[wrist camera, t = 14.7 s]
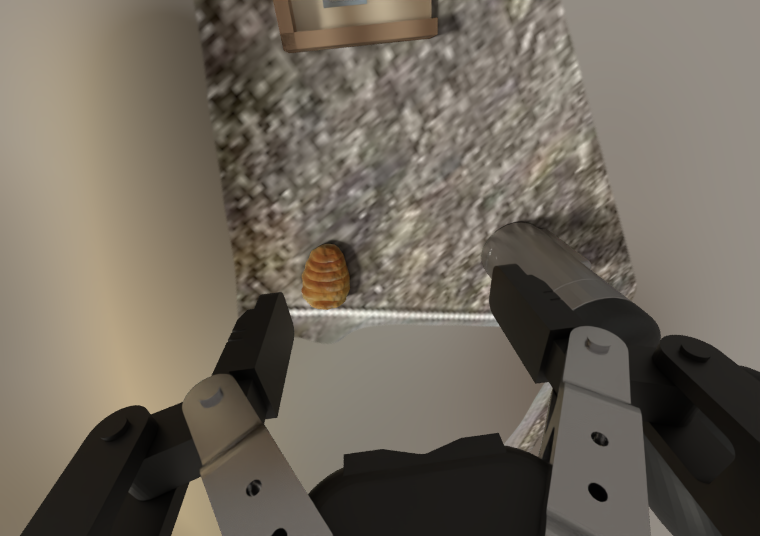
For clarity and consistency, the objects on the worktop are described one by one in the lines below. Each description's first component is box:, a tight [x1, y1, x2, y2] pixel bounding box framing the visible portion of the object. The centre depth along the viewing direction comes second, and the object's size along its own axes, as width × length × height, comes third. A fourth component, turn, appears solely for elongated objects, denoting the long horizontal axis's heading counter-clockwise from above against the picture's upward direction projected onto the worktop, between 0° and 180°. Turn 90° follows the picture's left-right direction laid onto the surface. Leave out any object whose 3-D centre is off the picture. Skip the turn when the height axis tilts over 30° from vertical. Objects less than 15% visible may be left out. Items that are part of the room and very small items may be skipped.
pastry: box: [302, 244, 350, 310], centre depth 42 cm, size 9×7×4 cm
